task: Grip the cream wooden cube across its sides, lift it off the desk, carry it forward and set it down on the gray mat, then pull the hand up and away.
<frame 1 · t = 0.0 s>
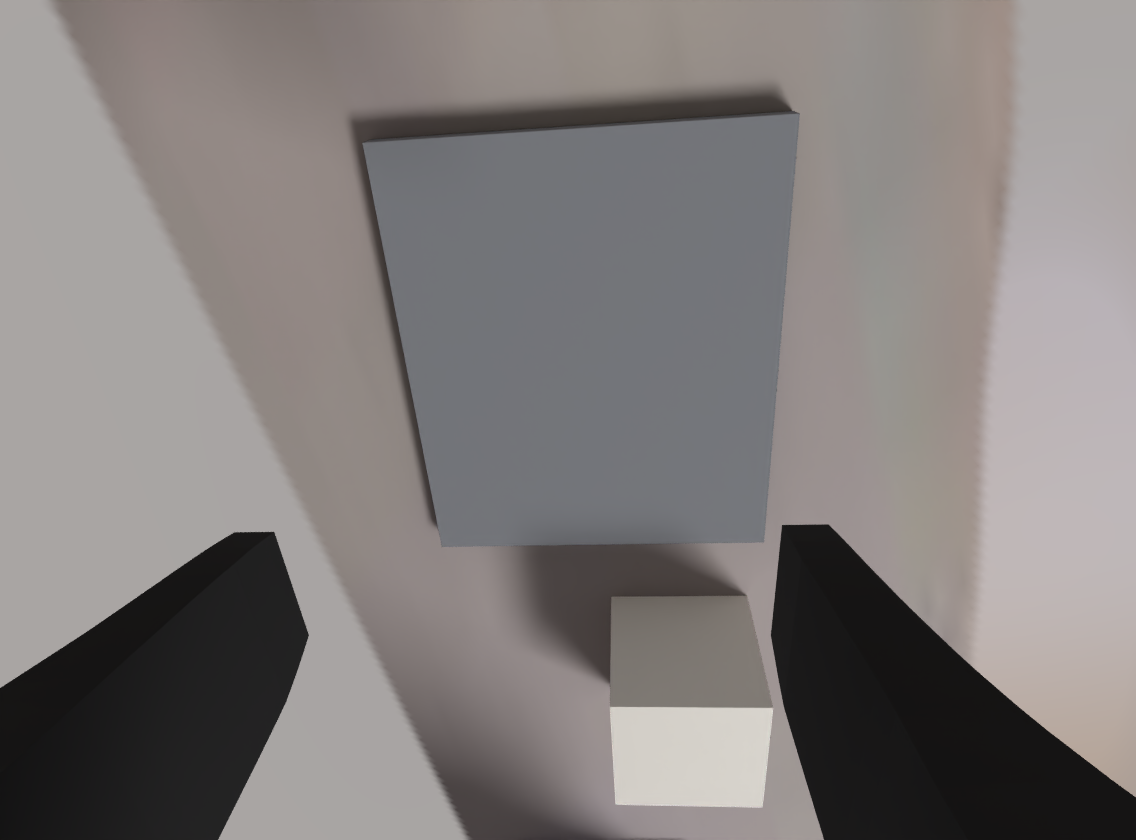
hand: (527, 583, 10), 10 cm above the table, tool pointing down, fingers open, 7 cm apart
gray mat: (589, 359, 19), on the table
cream cube: (677, 642, 24), on the table
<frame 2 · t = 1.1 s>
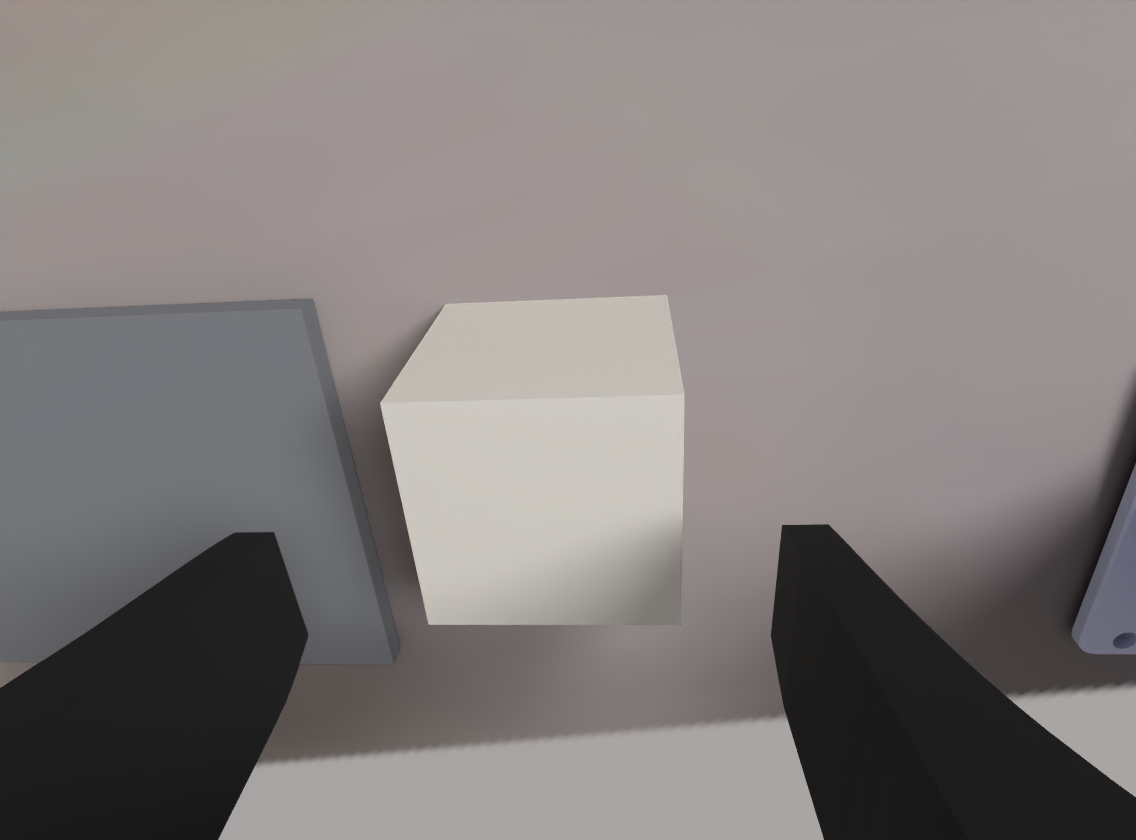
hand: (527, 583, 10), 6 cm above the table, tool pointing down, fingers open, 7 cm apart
gray mat: (128, 501, 17), on the table
cream cube: (562, 397, 15), on the table
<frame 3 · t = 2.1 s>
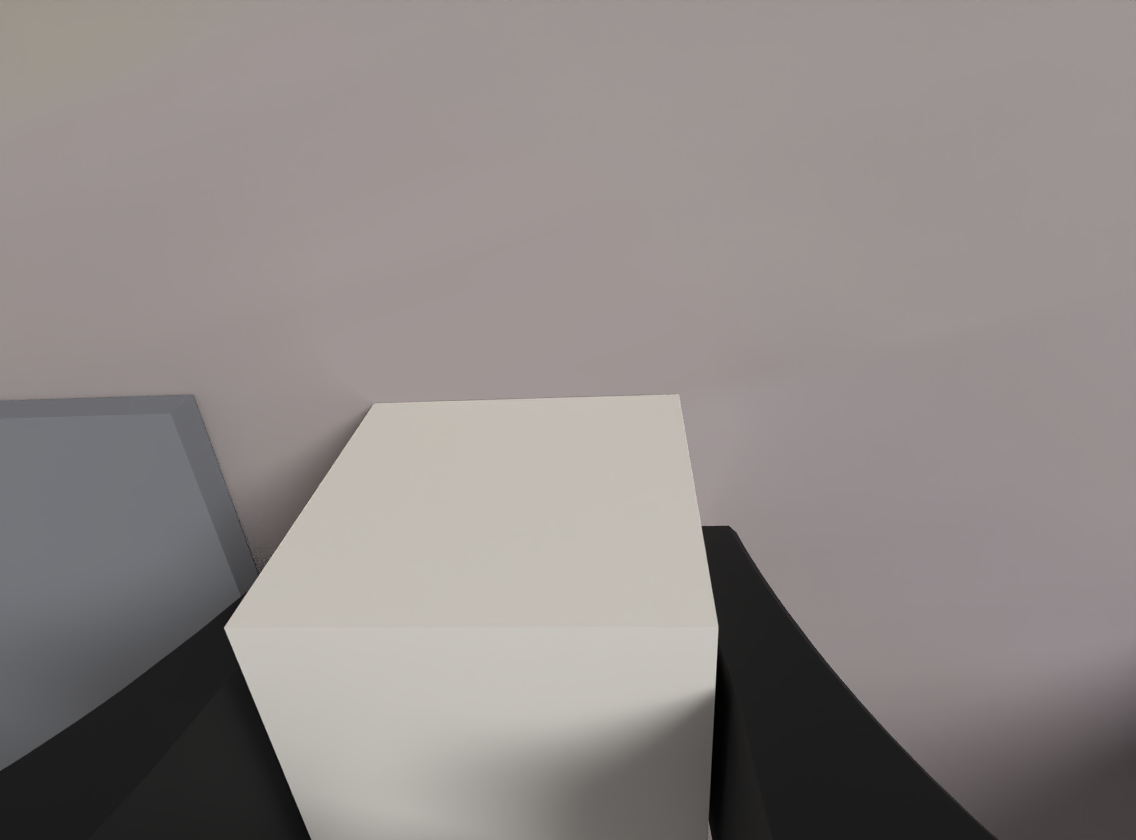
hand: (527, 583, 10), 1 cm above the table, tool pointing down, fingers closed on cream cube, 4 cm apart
cream cube: (536, 522, 11), on the table, touching gripper
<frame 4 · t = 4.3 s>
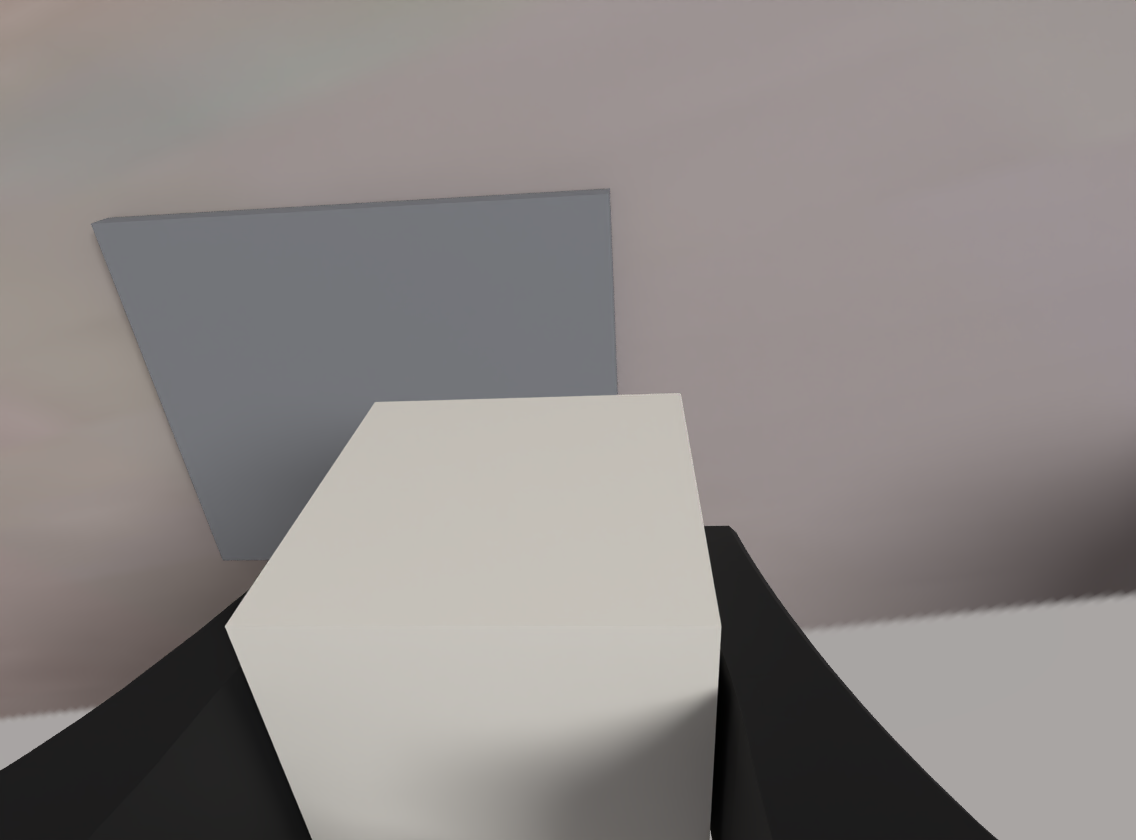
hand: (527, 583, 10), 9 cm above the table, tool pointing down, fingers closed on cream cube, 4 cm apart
gray mat: (391, 396, 18), on the table
cream cube: (538, 522, 11), point 7 cm above the table, touching gripper
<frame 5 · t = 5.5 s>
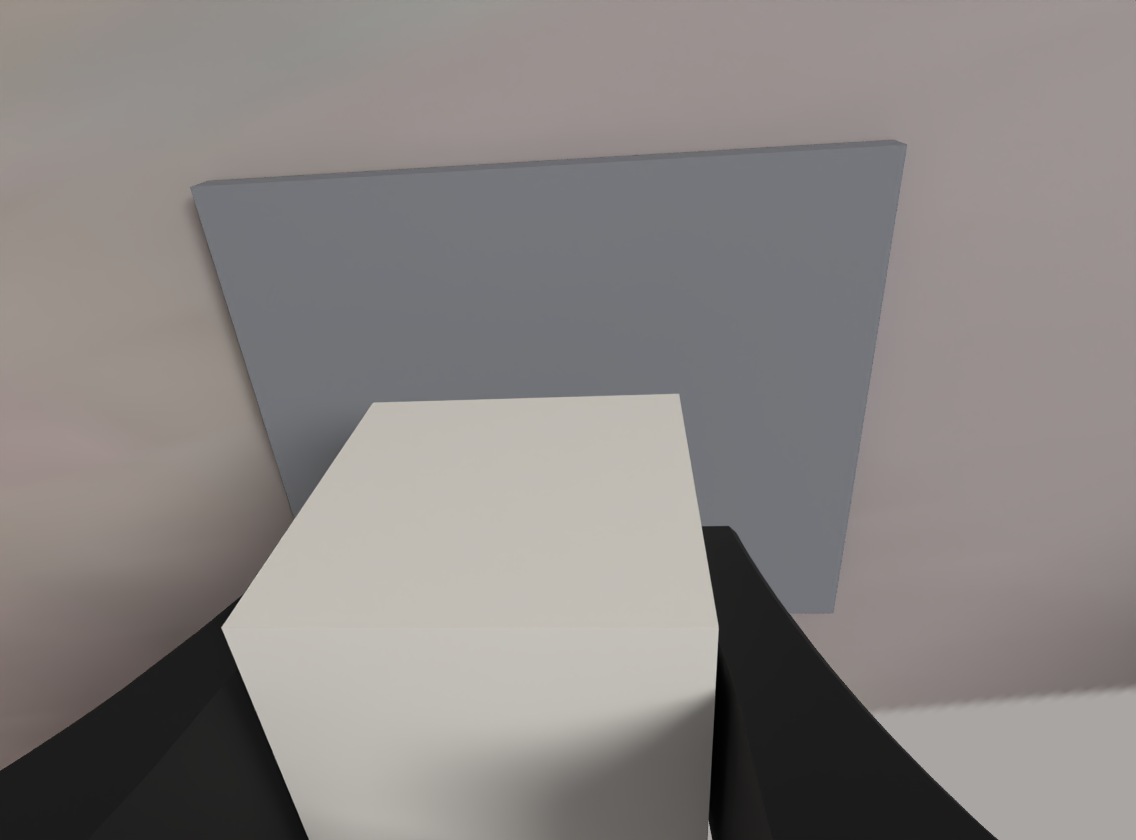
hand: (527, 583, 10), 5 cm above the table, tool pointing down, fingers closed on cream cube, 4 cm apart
gray mat: (556, 414, 14), on the table
cream cube: (536, 522, 11), point 4 cm above the table, touching gripper
when the fingers open (3 cm above the table, at t = 6.4 s): cream cube drops 1 cm, resting on gray mat.
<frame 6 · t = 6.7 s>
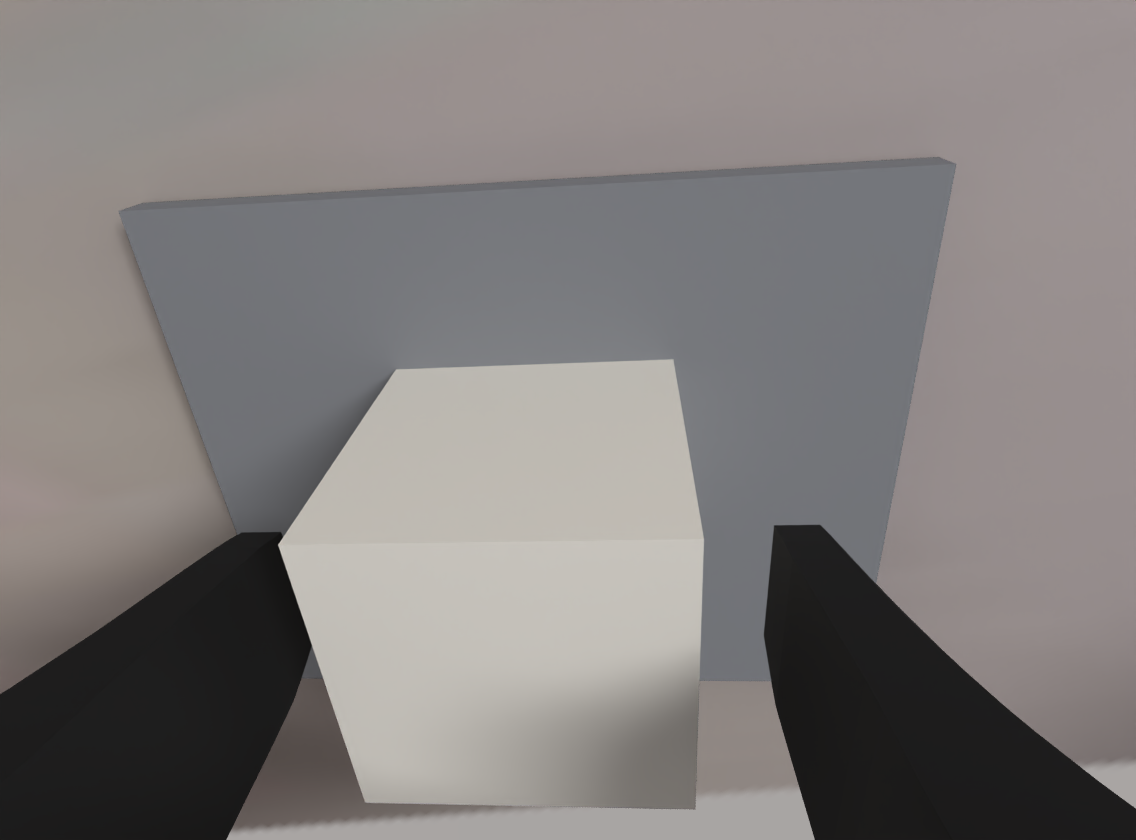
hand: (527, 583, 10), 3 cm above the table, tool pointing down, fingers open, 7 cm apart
gray mat: (547, 463, 13), on the table
cream cube: (543, 481, 12), point 1 cm above the table, touching gray mat
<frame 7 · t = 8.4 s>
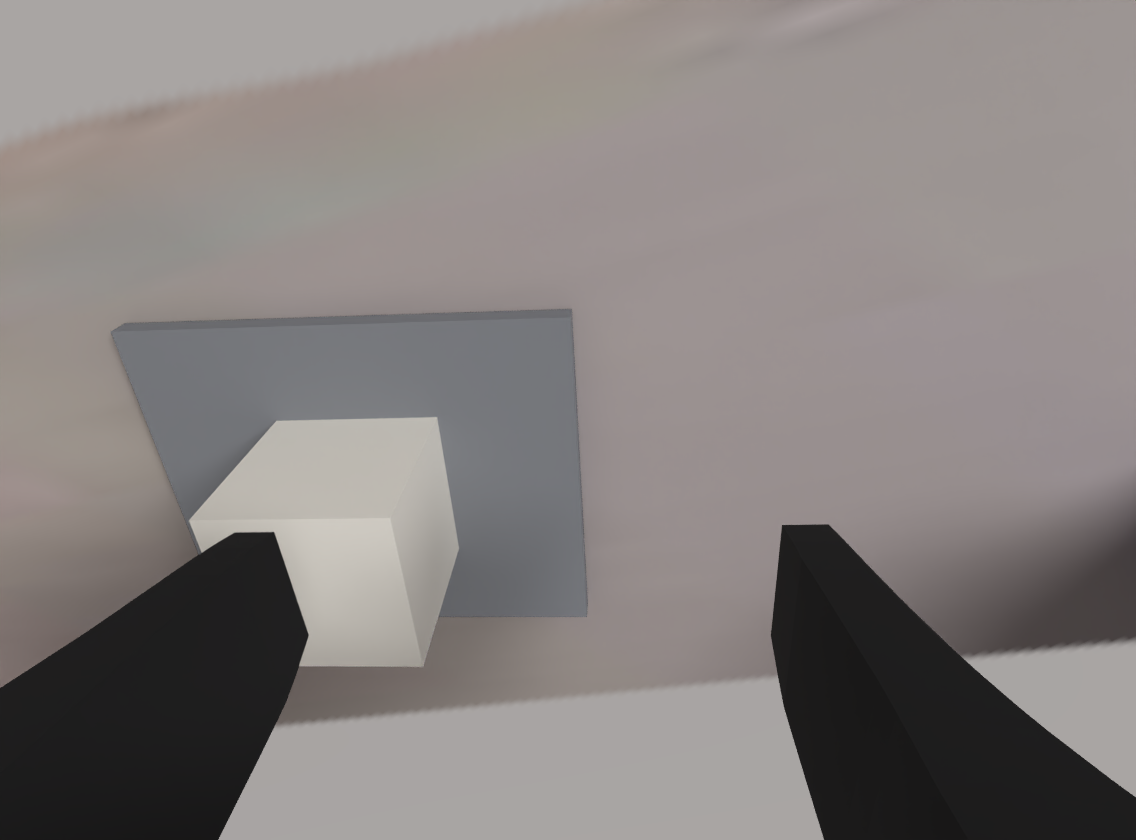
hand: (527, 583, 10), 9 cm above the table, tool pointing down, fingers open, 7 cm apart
gray mat: (378, 476, 21), on the table
cream cube: (371, 487, 20), point 1 cm above the table, touching gray mat
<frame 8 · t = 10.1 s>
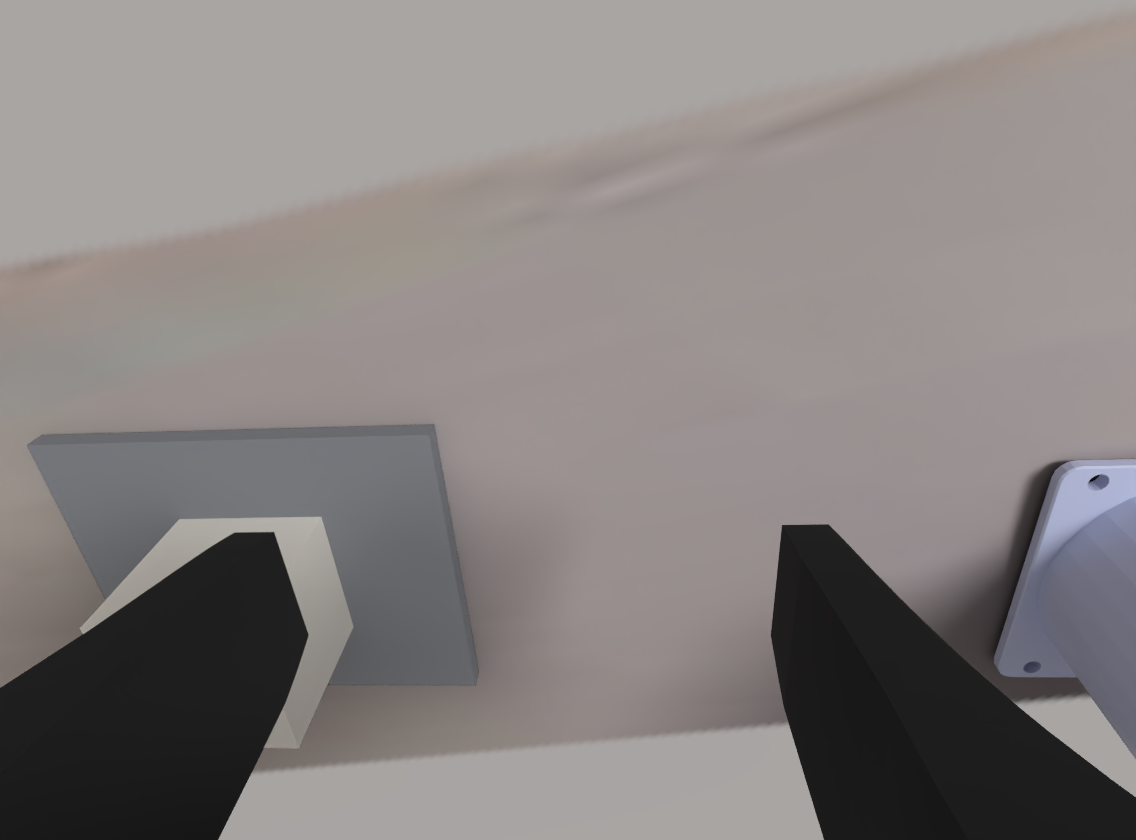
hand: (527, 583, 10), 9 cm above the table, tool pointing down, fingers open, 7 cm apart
gray mat: (278, 563, 23), on the table
cream cube: (269, 575, 22), point 1 cm above the table, touching gray mat
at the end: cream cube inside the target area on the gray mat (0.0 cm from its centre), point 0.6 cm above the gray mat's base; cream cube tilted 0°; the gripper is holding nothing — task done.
